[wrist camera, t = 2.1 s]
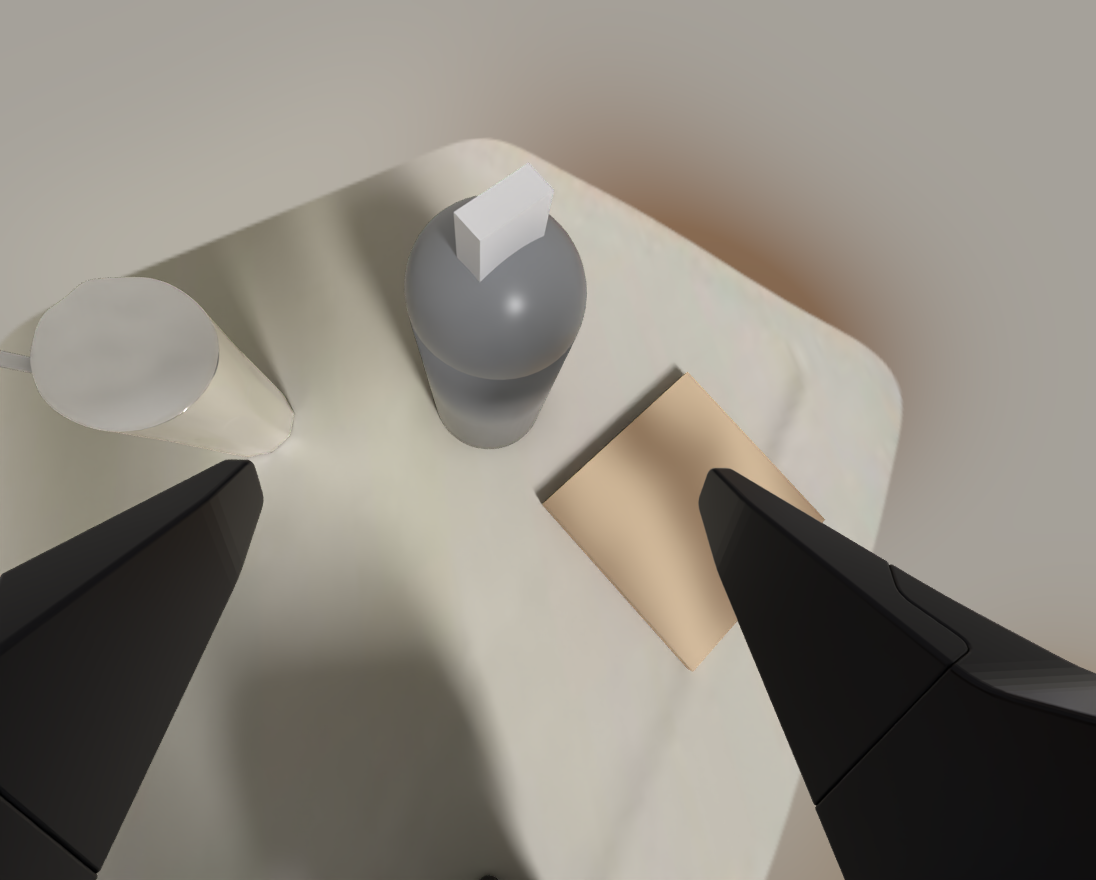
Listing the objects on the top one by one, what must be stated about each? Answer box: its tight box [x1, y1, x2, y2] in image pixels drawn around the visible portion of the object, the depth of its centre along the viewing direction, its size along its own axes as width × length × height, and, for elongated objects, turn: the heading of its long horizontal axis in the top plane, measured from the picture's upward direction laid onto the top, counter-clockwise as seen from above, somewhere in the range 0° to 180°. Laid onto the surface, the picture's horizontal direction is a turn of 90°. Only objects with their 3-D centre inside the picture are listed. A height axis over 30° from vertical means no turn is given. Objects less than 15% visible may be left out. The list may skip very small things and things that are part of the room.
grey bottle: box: [404, 162, 587, 449], centre depth 16 cm, size 5×5×14 cm
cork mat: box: [542, 372, 825, 672], centre depth 23 cm, size 10×10×1 cm
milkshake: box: [0, 277, 294, 457], centre depth 16 cm, size 4×5×10 cm
